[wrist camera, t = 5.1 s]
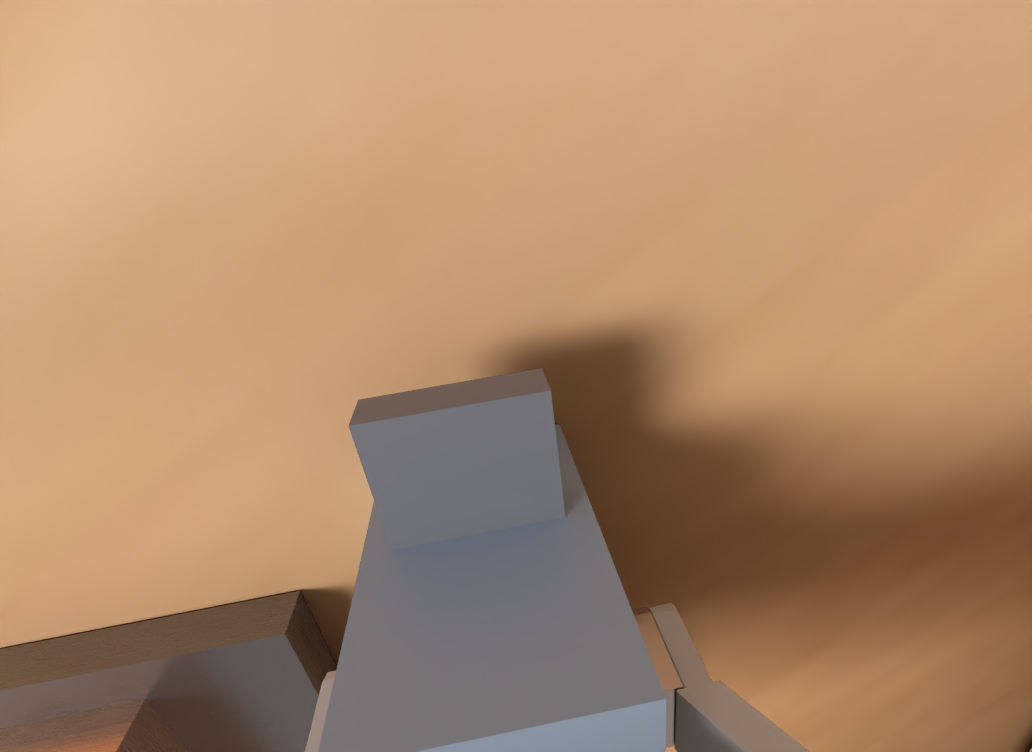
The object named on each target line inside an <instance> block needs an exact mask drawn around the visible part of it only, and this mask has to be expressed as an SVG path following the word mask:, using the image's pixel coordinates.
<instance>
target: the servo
mask: <svg viewBox="0 0 1032 752" xmlns="http://www.w3.org/2000/svg"><path fill="white" fill-rule="evenodd" d="M349 429H350V431H351V434H352V437H353V440H354V443H355V446H356V449H357V452H358V455H359V458H360V460H361V463H362V466H363V469H364V472H365V475H366V478H367V481H368V484H369V487H370V490H371V492H372V495H373V498H374V503H373V508H372V512H371V517H370V521H369V526H368V530H367V535H366V539H365V544H364V548H363V553H362V557H361V562H360V566H359V571H358V575H357V580H356V584H355V589H354V593H353V598H352V602H351V607H350V611H349V616H348V620H347V625H346V629H345V634H344V638H343V643H342V647H341V652H340V656H339V661H338V665H337V670H336V674H335V679H334V683H333V688H332V692H331V697H330V701H329V706H328V710H327V715H326V719H325V724H324V728H323V732H322V737H321V741H320V746H319V750H318V752H665V751H666V697H665V694H664V692H663V689H662V687H661V684H660V681H659V679H658V676H657V674H656V671H655V669H654V666H653V663H652V661H651V658H650V656H649V653H648V650H647V648H646V645H645V643H644V640H643V638H642V635H641V632H640V630H639V627H638V625H637V622H636V620H635V617H634V614H633V612H632V609H631V607H630V604H629V601H628V599H627V596H626V594H625V591H624V589H623V586H622V583H621V581H620V578H619V576H618V573H617V570H616V568H615V565H614V563H613V560H612V558H611V555H610V552H609V550H608V547H607V545H606V542H605V540H604V537H603V534H602V532H601V529H600V527H599V524H598V521H597V519H596V516H595V514H594V511H593V509H592V506H591V503H590V501H589V498H588V496H587V493H586V491H585V488H584V485H583V483H582V480H581V478H580V475H579V472H578V470H577V467H576V465H575V462H574V460H573V457H572V454H571V452H570V449H569V447H568V444H567V442H566V439H565V436H564V434H563V431H562V429H561V426H560V424H558V425H555V421H554V413H553V404H552V395H551V389H550V387H549V384H548V382H547V379H546V377H545V374H544V372H543V369H542V368H539V369H533V370H528V371H522V372H516V373H510V374H505V375H499V376H493V377H487V378H482V379H476V380H470V381H464V382H459V383H453V384H447V385H441V386H435V387H430V388H424V389H418V390H412V391H407V392H401V393H395V394H389V395H384V396H378V397H372V398H366V399H361V400H358V402H357V405H356V408H355V410H354V413H353V416H352V418H351V421H350V424H349Z"/></svg>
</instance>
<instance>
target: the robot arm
mask: <svg viewBox="0 0 1032 752" xmlns="http://www.w3.org/2000/svg"><path fill="white" fill-rule="evenodd" d="M632 612H633V614H634V617H635V620H636V622H637V625H638V627H639V630H640V632H641V635H642V638H643V640H644V643H645V645H646V648H647V650H648V653H649V656H650V658H651V661H652V663H653V666H654V669H655V671H656V674H657V676H658V679H659V681H660V684H661V687H662V689H663V692H664V694H665V697H666V747H672V746H675V749H676V750H677V752H810V751H808V750H807V749H806V748H805V747H803V746H802V745H801V744H799V743H798V742H797V741H796V740H794V739H793V738H792V737H791V736H789V735H788V734H787V733H785V732H784V731H783V730H782V729H780V728H779V727H778V726H777V725H775V724H774V723H773V722H772V721H770V720H769V719H768V718H766V717H765V716H764V715H763V714H761V713H760V712H759V711H758V710H756V709H755V708H754V707H753V706H751V705H750V704H749V703H747V702H746V701H745V700H744V699H742V698H741V697H740V696H739V695H737V694H736V693H735V692H733V691H732V690H731V689H730V688H728V687H727V686H726V685H725V684H723V683H722V682H721V681H716V682H712V680H711V678H710V676H709V674H708V672H707V670H706V668H705V666H704V664H703V662H702V660H701V658H700V656H699V653H698V651H697V649H696V647H695V645H694V643H693V641H692V639H691V637H690V635H689V633H688V631H687V629H686V627H685V625H684V623H683V621H682V619H681V617H680V615H679V613H678V611H677V609H676V607H675V606H674V605H673V604H672V603H667V604H662V605H658V606H653V607H649V608H647V607H645V608H640V609H636V610H632ZM335 674H336V671H331V672H327V674H326V676H325V678H324V680H323V682H322V685H321V689H320V693H319V697H318V701H317V705H316V710H315V714H314V718H313V722H312V726H311V730H310V734H309V738H308V742H307V746H306V750H305V752H318V750H319V746H320V741H321V737H322V732H323V728H324V724H325V719H326V715H327V710H328V706H329V701H330V697H331V692H332V688H333V683H334V679H335ZM1029 752H1032V748H1031V750H1030V751H1029Z"/></svg>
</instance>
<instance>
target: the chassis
mask: <svg viewBox="0 0 1032 752" xmlns="http://www.w3.org/2000/svg"><path fill="white" fill-rule="evenodd" d="M336 670H337V665H336V663H335V661H334V659H333V657H332V655H331V653H330V651H329V649H328V647H327V645H326V643H325V641H324V639H323V637H322V635H321V633H320V631H319V628H318V626H317V624H316V622H315V620H314V618H313V616H312V614H311V612H310V610H309V608H308V606H307V604H306V602H305V600H304V598H303V596H302V594H301V592H300V591H296V592H291V593H286V594H281V595H276V596H270V597H265V598H260V599H255V600H250V601H245V602H240V603H234V604H229V605H224V606H219V607H214V608H209V609H204V610H198V611H193V612H188V613H183V614H178V615H173V616H168V617H162V618H157V619H152V620H147V621H142V622H137V623H132V624H126V625H121V626H116V627H111V628H106V629H101V630H96V631H90V632H85V633H80V634H75V635H70V636H65V637H60V638H54V639H49V640H44V641H39V642H34V643H29V644H24V645H18V646H13V647H8V648H3V649H0V752H305V750H306V746H307V742H308V738H309V734H310V730H311V726H312V722H313V718H314V714H315V710H316V705H317V701H318V697H319V693H320V689H321V685H322V682H323V680H324V678H325V676H326V674H327V672H331V671H336Z"/></svg>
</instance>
